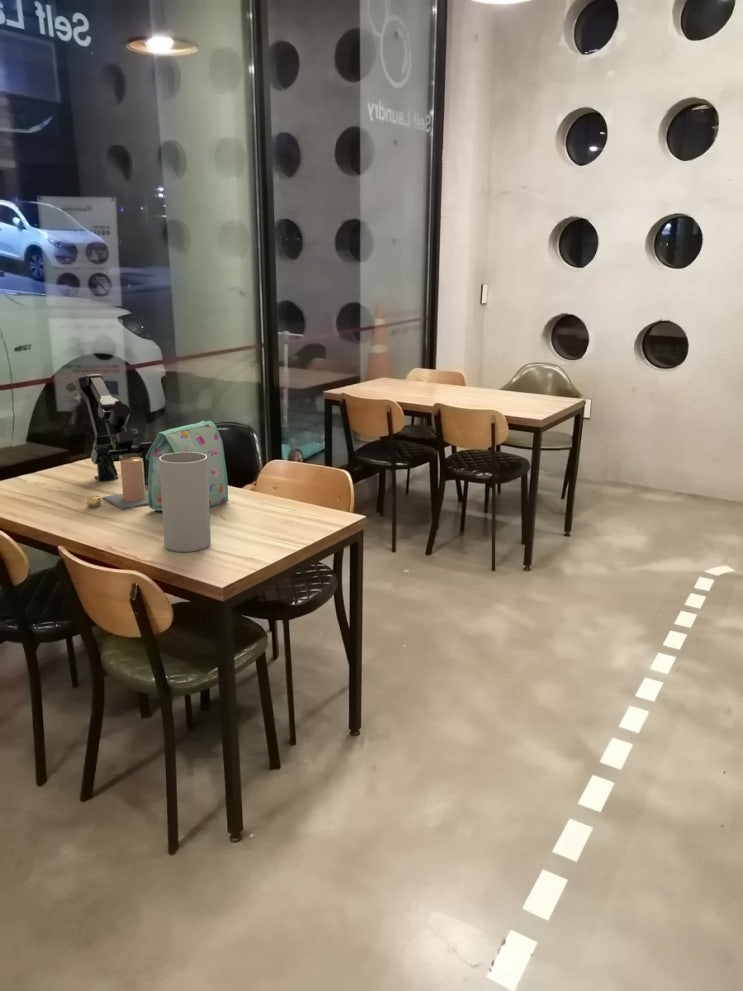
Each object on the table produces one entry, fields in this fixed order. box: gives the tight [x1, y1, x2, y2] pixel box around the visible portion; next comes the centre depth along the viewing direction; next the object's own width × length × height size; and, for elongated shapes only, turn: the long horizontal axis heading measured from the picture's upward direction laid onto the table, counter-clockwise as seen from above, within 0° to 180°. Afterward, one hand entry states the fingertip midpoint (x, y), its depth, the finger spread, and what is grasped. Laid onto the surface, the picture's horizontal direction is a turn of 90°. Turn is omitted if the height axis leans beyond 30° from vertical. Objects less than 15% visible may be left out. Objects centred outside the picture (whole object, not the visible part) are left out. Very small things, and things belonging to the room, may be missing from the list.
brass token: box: [86, 495, 102, 509], centre depth 245 cm, size 4×4×3 cm
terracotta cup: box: [120, 456, 146, 501], centre depth 250 cm, size 7×7×13 cm
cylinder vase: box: [159, 452, 212, 553], centre depth 209 cm, size 12×12×25 cm
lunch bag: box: [146, 420, 229, 511], centre depth 243 cm, size 23×16×27 cm
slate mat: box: [102, 488, 149, 511], centre depth 252 cm, size 15×15×1 cm
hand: (130, 474), depth 252 cm, fingers open, 9 cm apart
